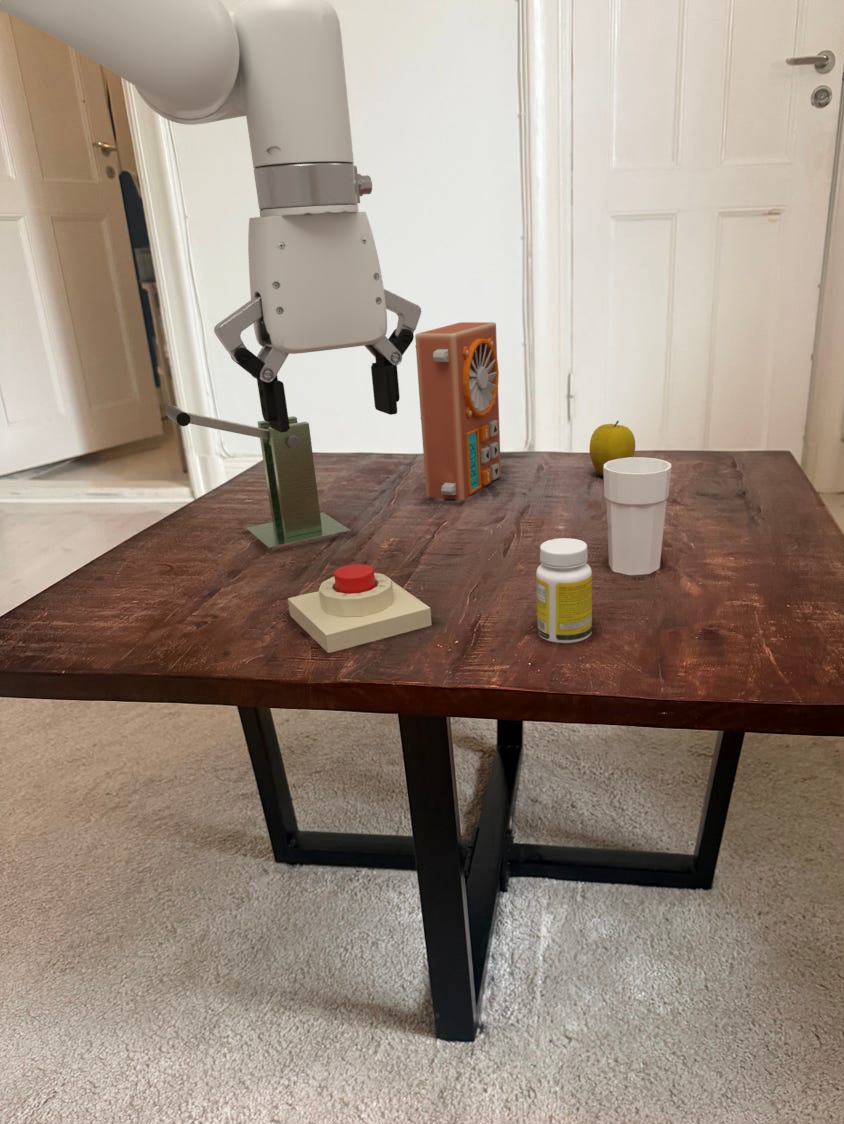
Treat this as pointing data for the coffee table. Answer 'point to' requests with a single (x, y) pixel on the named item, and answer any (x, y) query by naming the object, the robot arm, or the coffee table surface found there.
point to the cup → (636, 512)
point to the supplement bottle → (564, 591)
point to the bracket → (292, 488)
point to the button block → (358, 614)
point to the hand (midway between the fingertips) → (334, 420)
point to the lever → (215, 423)
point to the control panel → (459, 408)
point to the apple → (611, 445)
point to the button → (354, 579)
